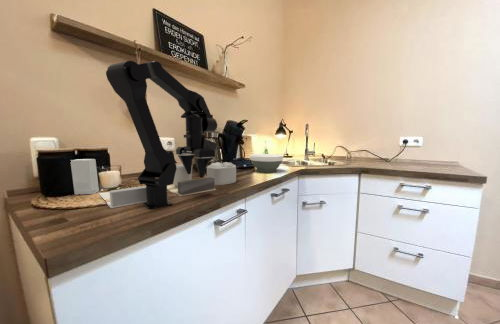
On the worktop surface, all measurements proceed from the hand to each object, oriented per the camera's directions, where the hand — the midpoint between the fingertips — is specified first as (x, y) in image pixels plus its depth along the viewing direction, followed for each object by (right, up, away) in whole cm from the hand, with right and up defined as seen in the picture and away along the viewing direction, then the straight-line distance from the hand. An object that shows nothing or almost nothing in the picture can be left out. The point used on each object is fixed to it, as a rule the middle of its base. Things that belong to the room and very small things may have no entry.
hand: (195, 175), depth 80 cm
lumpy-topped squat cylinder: (+8, -4, +19) cm, 21 cm away
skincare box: (-38, -6, -2) cm, 39 cm away
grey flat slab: (-20, -7, -6) cm, 22 cm away
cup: (-8, -5, +10) cm, 14 cm away
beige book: (-5, -5, +6) cm, 10 cm away
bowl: (+29, -1, +50) cm, 58 cm away
